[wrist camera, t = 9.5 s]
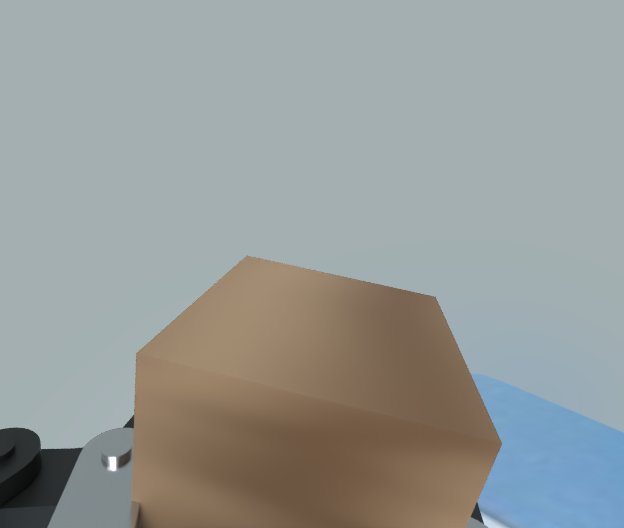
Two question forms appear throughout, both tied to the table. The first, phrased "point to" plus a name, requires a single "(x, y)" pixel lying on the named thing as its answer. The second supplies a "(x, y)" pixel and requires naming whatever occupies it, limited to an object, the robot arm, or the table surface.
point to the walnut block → (307, 409)
